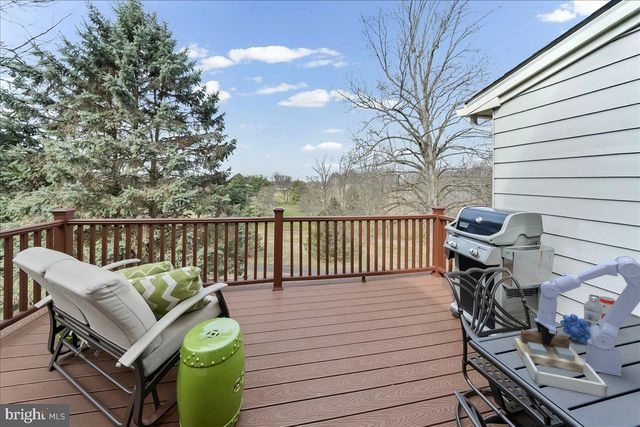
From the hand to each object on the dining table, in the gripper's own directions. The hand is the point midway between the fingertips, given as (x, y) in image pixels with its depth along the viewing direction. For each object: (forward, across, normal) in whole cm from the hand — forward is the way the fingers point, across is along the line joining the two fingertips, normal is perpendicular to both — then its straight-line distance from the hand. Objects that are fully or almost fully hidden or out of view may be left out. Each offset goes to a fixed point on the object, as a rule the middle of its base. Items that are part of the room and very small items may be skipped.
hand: (544, 341), depth 123 cm
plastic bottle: (+5, -20, +24) cm, 32 cm away
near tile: (+1, +6, +4) cm, 8 cm away
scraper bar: (+1, 0, 0) cm, 1 cm away
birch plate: (+4, +4, 0) cm, 6 cm away
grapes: (+5, -14, +16) cm, 22 cm away
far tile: (+1, +6, -4) cm, 8 cm away
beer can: (+5, -31, +34) cm, 46 cm away
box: (+4, +18, 0) cm, 18 cm away
